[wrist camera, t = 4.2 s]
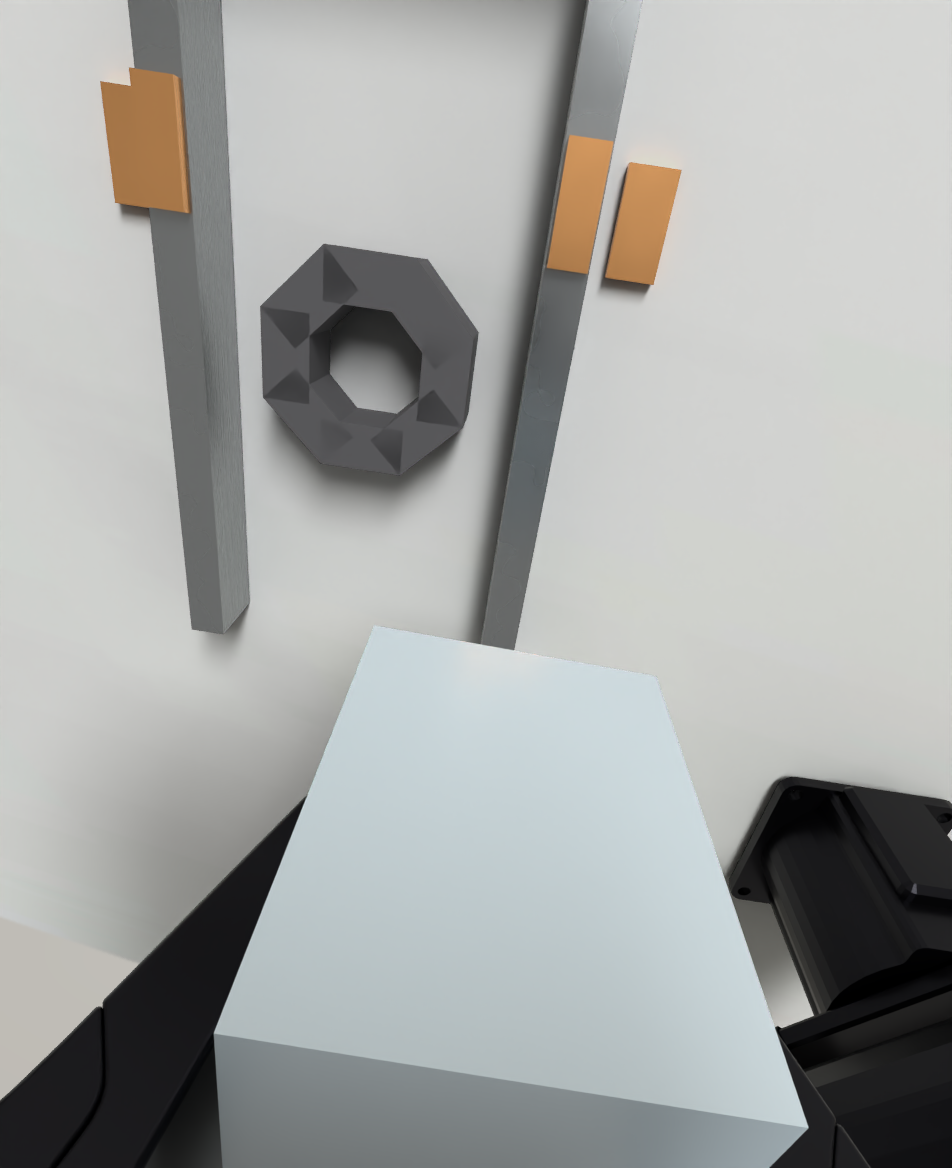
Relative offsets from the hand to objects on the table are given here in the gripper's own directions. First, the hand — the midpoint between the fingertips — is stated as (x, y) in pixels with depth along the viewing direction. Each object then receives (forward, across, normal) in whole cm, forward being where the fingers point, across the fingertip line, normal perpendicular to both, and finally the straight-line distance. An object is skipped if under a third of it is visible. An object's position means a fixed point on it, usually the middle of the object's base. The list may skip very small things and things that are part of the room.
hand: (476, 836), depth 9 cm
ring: (+11, +4, -4) cm, 13 cm away
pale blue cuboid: (+1, 0, 0) cm, 1 cm away
